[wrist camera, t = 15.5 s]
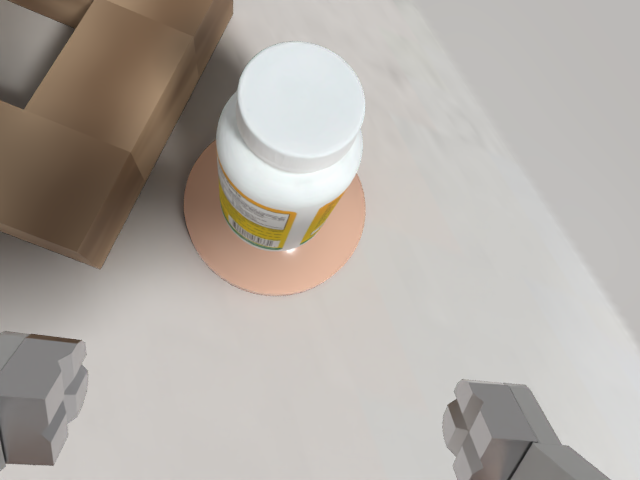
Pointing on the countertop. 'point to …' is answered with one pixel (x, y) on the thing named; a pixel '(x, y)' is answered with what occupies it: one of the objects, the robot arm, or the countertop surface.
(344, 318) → the countertop surface
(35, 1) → the frame
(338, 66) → the supplement bottle
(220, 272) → the peach round disc
